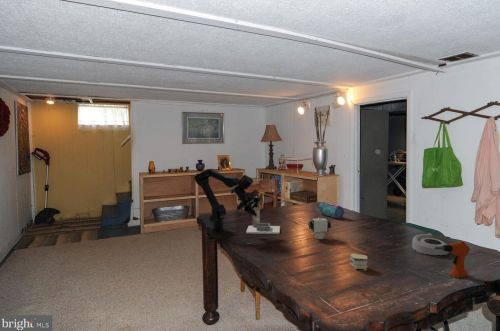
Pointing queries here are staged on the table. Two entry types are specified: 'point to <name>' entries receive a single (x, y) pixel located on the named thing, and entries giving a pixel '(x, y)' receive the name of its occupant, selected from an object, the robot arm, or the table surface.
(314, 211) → the table surface
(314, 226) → the pneumatic valve
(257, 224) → the birch pin
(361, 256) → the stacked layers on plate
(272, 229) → the socket plate
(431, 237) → the turbocharger housing
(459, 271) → the toy drill
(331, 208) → the pencil case
